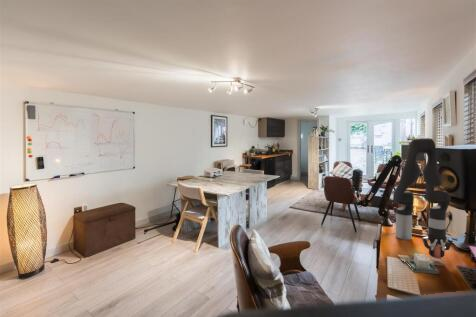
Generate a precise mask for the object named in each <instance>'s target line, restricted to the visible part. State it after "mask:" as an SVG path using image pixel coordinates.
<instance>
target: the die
mask: <svg viewBox="0 0 476 317" xmlns="http://www.w3.org/2000/svg"><path fill="white" fill-rule="evenodd" d="M413 256H414V262H415V264H416V266H417V268H426V269H429V264H430V260H429V259H428V257H429V256H427V255H426V254H424V253H416V252H414V255H413Z"/></svg>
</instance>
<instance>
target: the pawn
mask: <svg viewBox="0 0 476 317" xmlns="http://www.w3.org/2000/svg"><path fill="white" fill-rule="evenodd" d="M433 250H434V256H433V257H432V258H436V259H440V260H441V259H442V257H441V256H440V252H441V248H440V246H439V245H438V244H437V245H435V247H434V249H433Z"/></svg>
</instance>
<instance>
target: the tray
mask: <svg viewBox="0 0 476 317" xmlns="http://www.w3.org/2000/svg"><path fill="white" fill-rule="evenodd" d="M406 262H407V263H408V264H409V265H410V266H411V268H412V269H413V270H412V269H411V268H410V269H411V270H412V271H413V272H414V273H421V274H422V273H424V274H434V275H440V270H439V269H438V268H437V267H436V265H432V264H431V263H430V264H429V269H426V268H417V266H416V264H415V262H414V261H413V260H406ZM407 263H406V264H407ZM408 264H407V265H408ZM409 265H408V266H409ZM410 266H409V267H410Z"/></svg>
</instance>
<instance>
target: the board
mask: <svg viewBox="0 0 476 317" xmlns="http://www.w3.org/2000/svg"><path fill="white" fill-rule="evenodd" d="M427 257H428V259H429V260H430V263H431V264H432V265H434V266H439V267H446V264H445V262H443V261H442V260H441V259H436V258H433V257H432V256H430V257H429V256H427ZM397 258H398V259H400V261H401V260H402V261H405V262H406V260H413V261H414V255H406V254H404V255H403V254H397ZM402 261H401V262H402ZM405 262H404V263H405Z"/></svg>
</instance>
